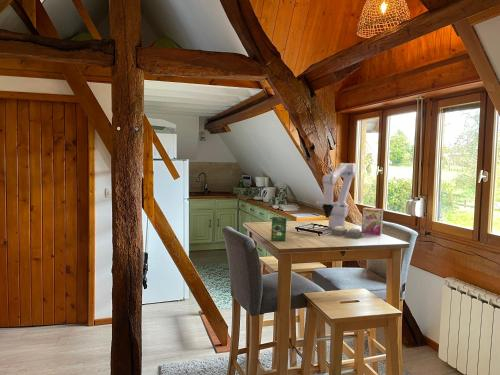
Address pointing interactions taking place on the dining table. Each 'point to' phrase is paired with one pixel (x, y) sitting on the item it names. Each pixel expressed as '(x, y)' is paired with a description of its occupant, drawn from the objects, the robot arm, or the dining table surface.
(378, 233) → the candy bar box
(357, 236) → the key panel
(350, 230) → the light gray key
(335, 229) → the cream key
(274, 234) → the coffee box
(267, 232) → the dining table surface
